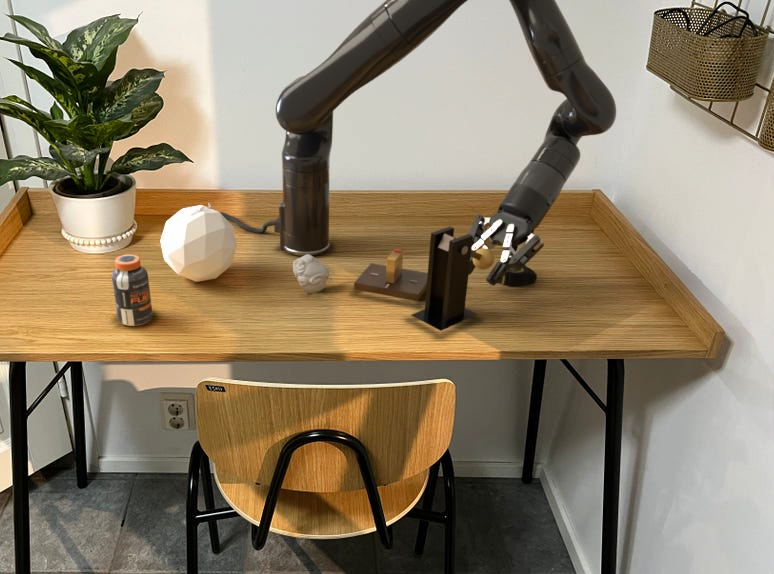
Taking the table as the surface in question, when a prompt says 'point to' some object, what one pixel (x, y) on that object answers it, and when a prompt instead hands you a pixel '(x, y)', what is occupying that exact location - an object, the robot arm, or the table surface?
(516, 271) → the tape measure
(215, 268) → the geodesic sphere
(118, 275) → the pill bottle
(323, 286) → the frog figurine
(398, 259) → the tan wooden block
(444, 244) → the latch lever
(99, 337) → the table surface
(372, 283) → the lock plate
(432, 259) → the bracket
